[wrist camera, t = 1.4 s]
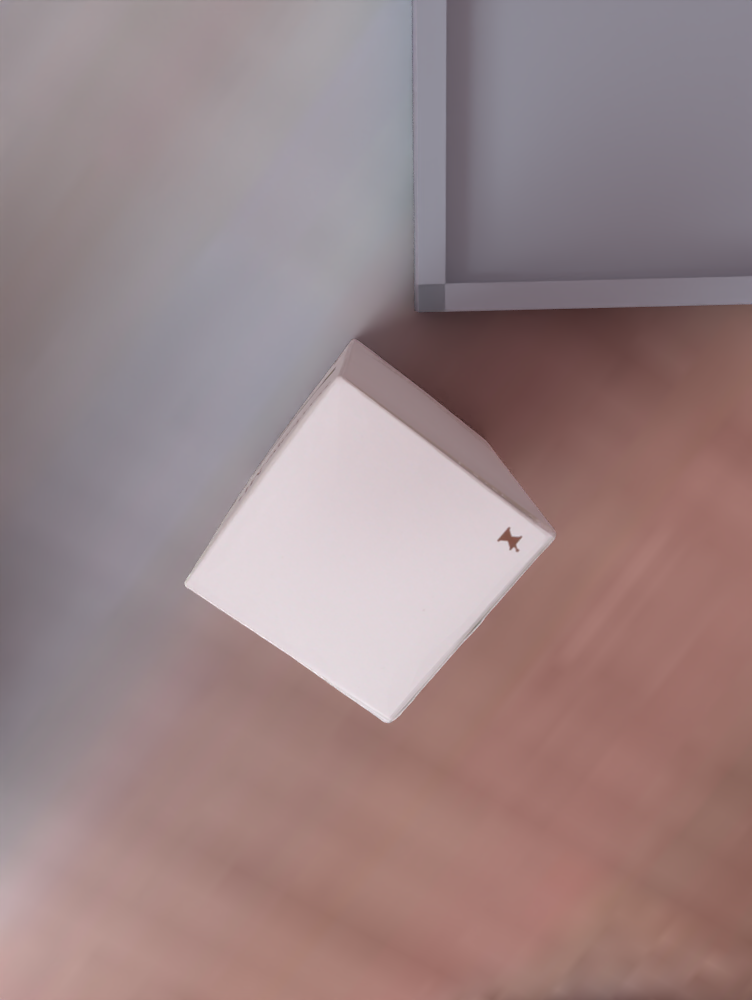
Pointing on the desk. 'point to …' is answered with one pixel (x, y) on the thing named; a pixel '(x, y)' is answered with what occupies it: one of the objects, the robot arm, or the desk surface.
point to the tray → (581, 153)
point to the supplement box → (372, 536)
